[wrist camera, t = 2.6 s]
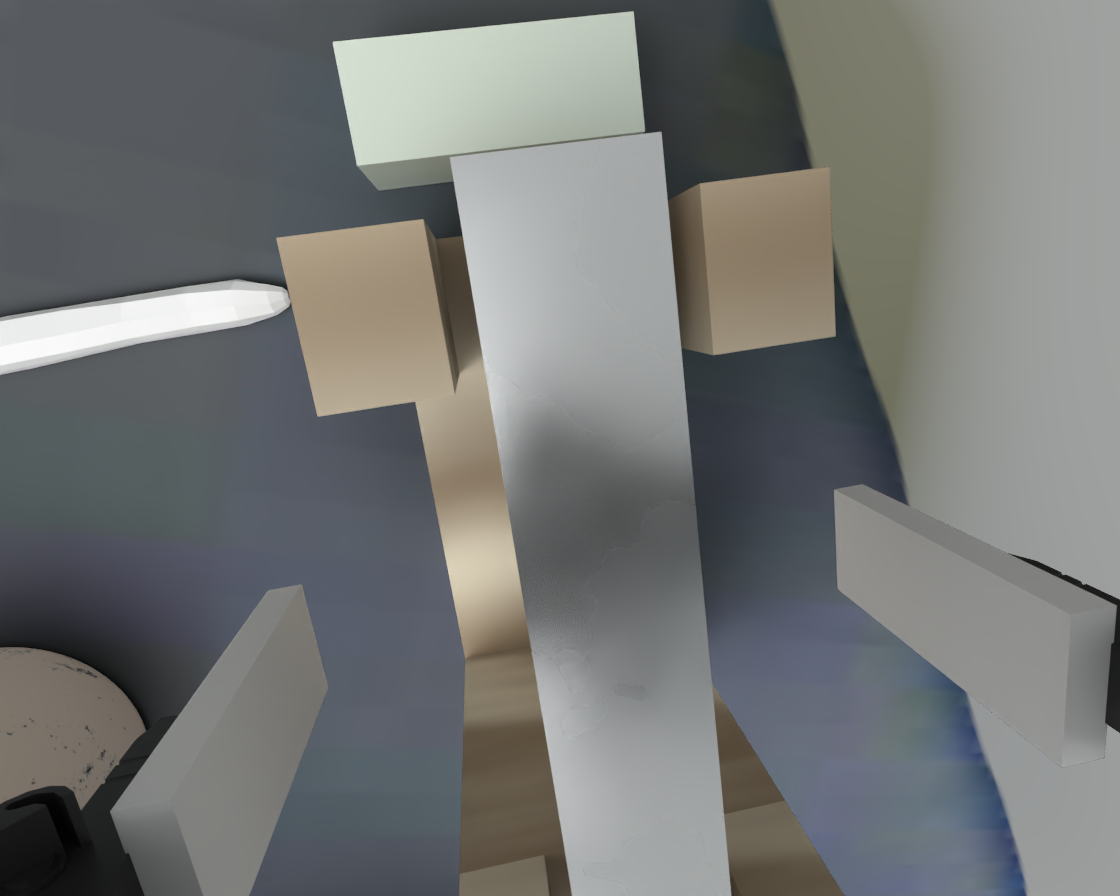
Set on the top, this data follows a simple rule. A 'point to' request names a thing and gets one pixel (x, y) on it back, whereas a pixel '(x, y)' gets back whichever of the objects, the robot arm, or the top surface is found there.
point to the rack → (480, 501)
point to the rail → (601, 501)
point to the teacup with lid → (59, 724)
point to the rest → (486, 92)
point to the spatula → (133, 321)
